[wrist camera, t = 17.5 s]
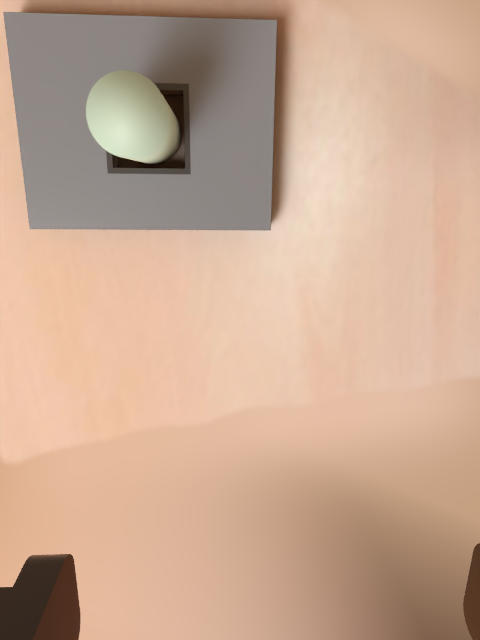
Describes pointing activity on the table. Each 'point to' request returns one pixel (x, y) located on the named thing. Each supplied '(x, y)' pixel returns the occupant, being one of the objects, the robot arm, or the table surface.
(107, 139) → the peg
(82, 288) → the table surface
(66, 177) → the socket plate
